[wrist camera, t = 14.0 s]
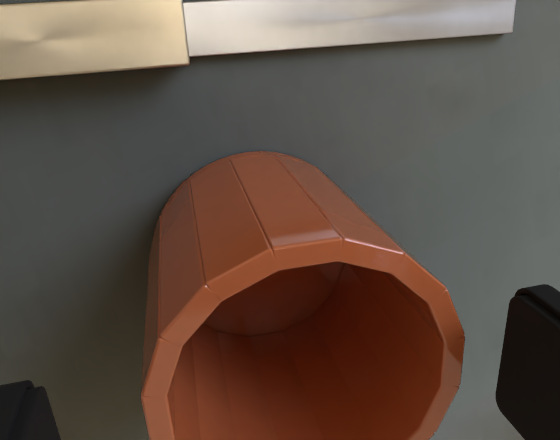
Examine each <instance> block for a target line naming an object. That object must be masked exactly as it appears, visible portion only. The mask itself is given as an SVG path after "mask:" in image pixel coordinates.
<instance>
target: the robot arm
mask: <svg viewBox="0 0 560 440" xmlns="http://www.w3.org/2000/svg"><path fill="white" fill-rule="evenodd" d="M496 402H497V405H498V407H499V409H500V411H501V412H502V414H503V415H504V416H505V417H506V418H507V419H508V421H509V422H510V423H511V424H512V425H513V426H514V428H515V429H516V430H517V431H518V432H519V433H520V434H521V436H522V437H523V438H524V439H525V440H560V292H559V291H557V290H556V289H555V288H553V287H551V286H549V285H545V284H543V285H537V286H532V287H527V288H521V289H519V290H518V291H517V292H516V293H515V297H513V298H512V299H511V300H510V303H509V309H508V316H507V322H506V329H505V336H504V342H503V349H502V355H501V362H500V369H499V375H498V382H497V389H496ZM0 440H61V439H60V435H59V432H58V429H57V426H56V422H55V419H54V416H53V413H52V409H51V406H50V403H49V399H48V396H47V393H46V390H45V388H44V387H42V386H41V387H34V385H33V383H32V382H31V381H29V380H27V381H22V382H16V383H11V384H6V385H0Z"/></svg>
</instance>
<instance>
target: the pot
mask: <svg viewBox="0 0 560 440" xmlns="http://www.w3.org/2000/svg"><path fill="white" fill-rule="evenodd" d="M464 343H465V336H464V331H463V328H462V326H461V323H460V321H459V318H458V315H457V313H456V310H455V308H454V305H453V302H452V300H451V297H450V295H449V292H448V290H447V289H446V287H445V285H443V284H442V283H441V282H440V281H439V280H438V279H437V278H436V277H435V276H434V275H433V274H432V273H431V272H430V271H429V270H428V269H426V268H425V267H424V266H423V265H422V264H421V263H420V262H419V261H418V260H417V259H416V258H415V257H414V256H413V255H412V254H411V253H409V252H408V251H407V250H406V249H405V248H404V247H403V246H402V245H401V244H400V243H399V242H398V241H397V240H396V239H395V238H394V237H392V236H391V235H390V234H389V233H388V232H387V231H386V230H385V229H384V228H383V227H382V226H381V225H380V224H379V223H378V222H377V221H375V220H374V219H373V218H372V217H371V216H370V215H369V214H368V213H367V212H366V211H365V210H364V209H363V208H362V207H361V206H360V205H358V204H357V203H356V202H355V201H354V200H353V199H352V198H351V197H350V196H349V195H348V194H347V193H346V192H345V191H344V190H342V189H341V188H340V187H339V186H338V185H337V184H335V183H334V182H333V181H332V180H331V179H330V178H329V177H328V176H327V175H325V174H324V173H323V172H322V171H320V170H319V169H318V168H317V167H315V166H313V165H311V164H309V163H308V162H306V161H304V160H301V159H299V158H296V157H293V156H291V155H286V154H282V153H277V152H266V151H257V152H245V153H240V154H234V155H231V156H228V157H224V158H221V159H219V160H217V161H215V162H212V163H210V164H208V165H206V166H205V167H203V168H201V169H200V170H198V171H197V172H195V173H194V174H193V175H191V176H190V177H189V178H188V179H186V180H185V181H184V182H183V183H182V184H181V185H180V186H179V187H178V188H177V189H176V190H175V192H174V193H173V194H172V196H171V197H170V198H169V200H168V201H167V203H166V204H165V206H164V208H163V210H162V212H161V214H160V216H159V218H158V221H157V224H156V227H155V230H154V235H153V240H152V247H151V250H150V255H149V271H148V287H147V303H146V320H145V336H144V352H143V368H142V384H141V402H142V407H143V412H144V417H145V421H146V426H147V431H148V436H149V440H429V439H430V438H431V437H432V436H433V435H434V432H436V431H437V429H438V427H439V425H440V423H441V422H442V420H443V418H444V416H445V414H446V412H447V410H448V408H449V406H450V404H451V402H452V401H453V399H454V397H455V395H456V393H457V391H458V389H459V385H460V383H461V373H462V363H463V353H464Z"/></svg>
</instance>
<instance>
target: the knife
mask: <svg viewBox="0 0 560 440" xmlns="http://www.w3.org/2000/svg"><path fill="white" fill-rule="evenodd" d="M515 7H516V0H211V1H193V2H183V0H65V1H46V2H28V3H9V4H0V80H10V79H23V78H36V77H49V76H62V75H75V74H88V73H101V72H113V71H126V70H139V69H152V68H165V67H178V66H188V65H190V57H200V56H213V55H226V54H240V53H253V52H266V51H280V50H293V49H307V48H320V47H333V46H347V45H360V44H373V43H387V42H400V41H413V40H427V39H440V38H454V37H467V36H480V35H494V34H507V33H512V32H513V24H514V15H515Z"/></svg>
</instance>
